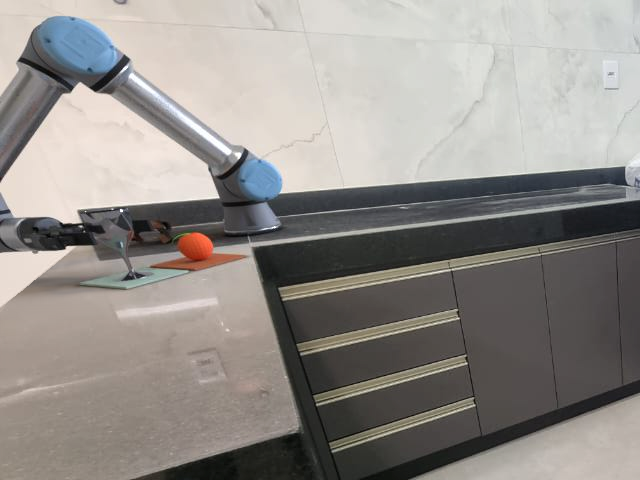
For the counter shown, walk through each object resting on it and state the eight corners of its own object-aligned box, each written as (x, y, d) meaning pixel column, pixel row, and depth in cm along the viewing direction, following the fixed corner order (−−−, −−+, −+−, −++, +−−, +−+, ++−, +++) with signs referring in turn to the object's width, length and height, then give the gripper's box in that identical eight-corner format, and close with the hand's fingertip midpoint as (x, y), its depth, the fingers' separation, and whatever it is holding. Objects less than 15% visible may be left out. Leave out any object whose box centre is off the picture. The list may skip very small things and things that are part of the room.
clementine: (179, 265, 130) (167, 237, 127) (178, 261, 135) (166, 233, 132) (219, 259, 135) (208, 231, 132) (216, 254, 139) (205, 227, 136)
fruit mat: (203, 254, 143) (202, 252, 143) (246, 256, 138) (245, 255, 138) (150, 267, 132) (149, 265, 132) (195, 270, 127) (194, 268, 127)
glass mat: (143, 269, 130) (142, 267, 130) (188, 272, 126) (187, 270, 126) (80, 285, 119) (79, 282, 119) (126, 289, 115) (125, 287, 114)
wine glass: (150, 270, 127) (121, 206, 121) (161, 274, 123) (131, 208, 117) (107, 278, 122) (74, 212, 115) (116, 283, 117) (83, 214, 111)
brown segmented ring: (159, 247, 156) (131, 225, 152) (143, 261, 160) (114, 239, 155) (188, 228, 165) (162, 207, 161) (172, 241, 169) (146, 220, 164)
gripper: (99, 238, 132) (178, 236, 131) (-19, 265, 110) (74, 263, 108) (84, 207, 129) (164, 204, 127) (-40, 229, 107) (55, 226, 105)
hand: (123, 231), depth 118 cm, fingers open, 13 cm apart
